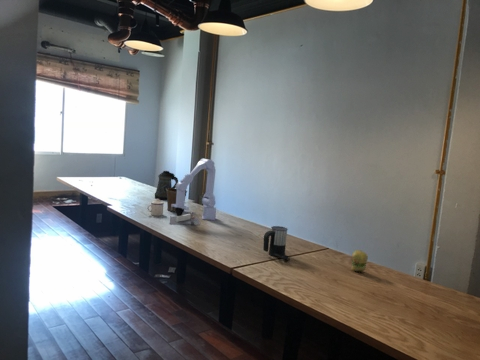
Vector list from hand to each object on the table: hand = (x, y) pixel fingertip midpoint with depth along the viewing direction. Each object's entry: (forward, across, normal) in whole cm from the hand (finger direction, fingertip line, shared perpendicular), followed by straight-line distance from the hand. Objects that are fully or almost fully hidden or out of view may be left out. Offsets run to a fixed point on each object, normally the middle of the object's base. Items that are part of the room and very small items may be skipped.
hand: (179, 218), depth 264 cm
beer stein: (+2, -67, +53) cm, 86 cm away
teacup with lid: (+2, -24, 0) cm, 24 cm away
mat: (+2, +2, +3) cm, 4 cm away
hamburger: (+2, +127, -6) cm, 127 cm away
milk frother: (+2, +88, -16) cm, 89 cm away
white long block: (+1, +2, +3) cm, 3 cm away
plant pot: (+2, -26, +23) cm, 35 cm away
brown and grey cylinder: (+2, +13, -1) cm, 13 cm away
